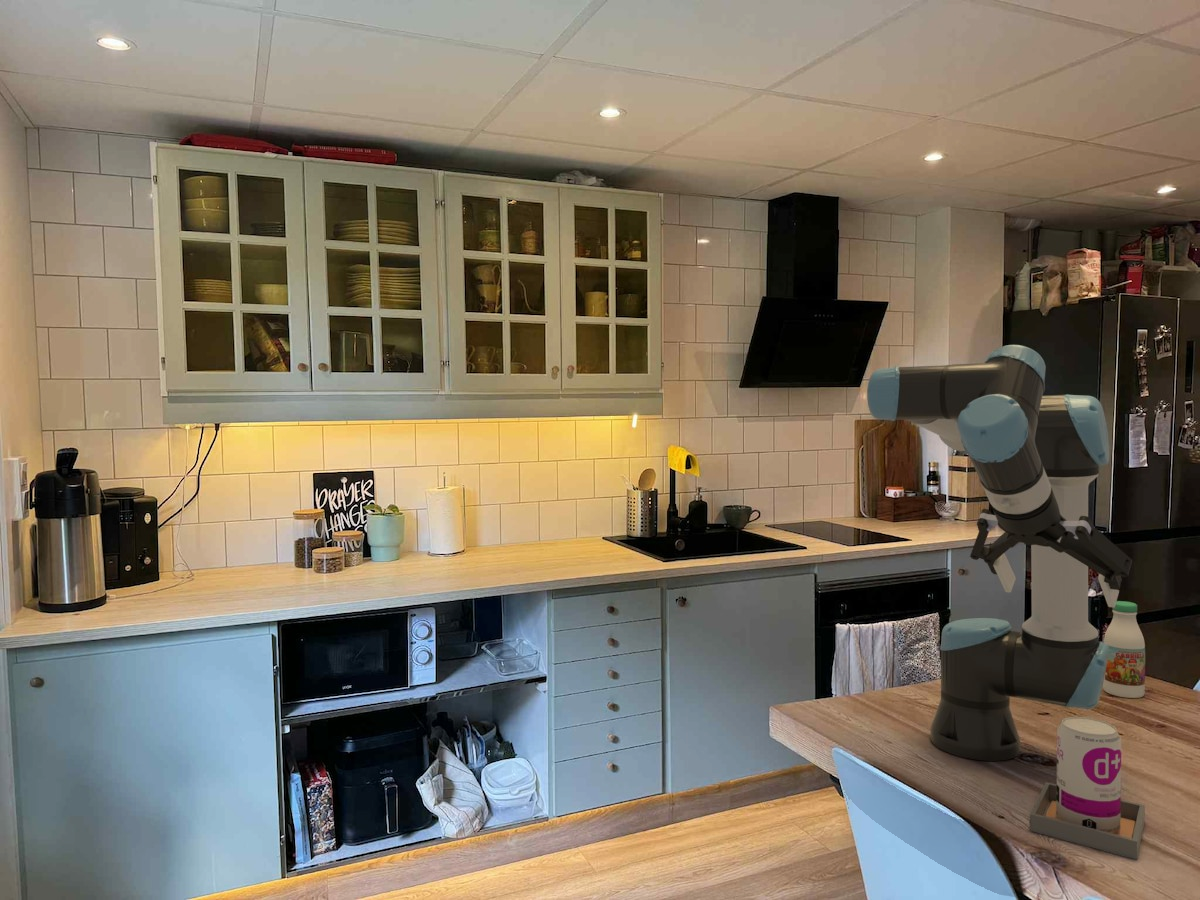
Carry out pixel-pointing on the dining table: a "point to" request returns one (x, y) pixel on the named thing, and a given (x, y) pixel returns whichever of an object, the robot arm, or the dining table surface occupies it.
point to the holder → (1084, 835)
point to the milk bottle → (1125, 653)
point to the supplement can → (1089, 774)
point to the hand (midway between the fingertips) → (1060, 592)
